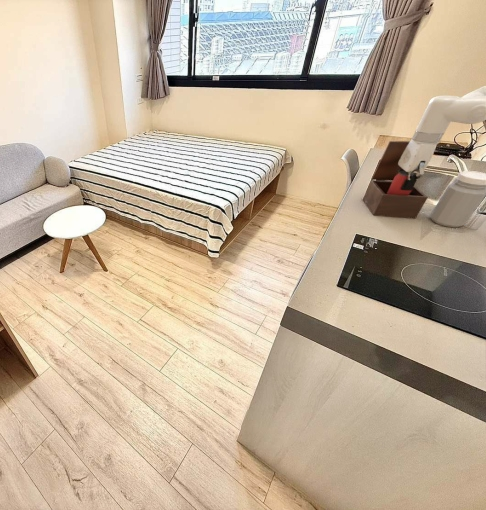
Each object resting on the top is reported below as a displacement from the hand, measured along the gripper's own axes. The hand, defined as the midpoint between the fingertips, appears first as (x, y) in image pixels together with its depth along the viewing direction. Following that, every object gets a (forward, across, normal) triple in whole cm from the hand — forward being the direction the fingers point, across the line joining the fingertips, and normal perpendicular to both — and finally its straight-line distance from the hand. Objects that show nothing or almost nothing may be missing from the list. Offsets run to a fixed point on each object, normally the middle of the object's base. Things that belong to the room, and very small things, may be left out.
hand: (401, 185), depth 106 cm
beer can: (+7, 0, 0) cm, 7 cm away
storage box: (+11, -2, 0) cm, 11 cm away
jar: (+11, +6, +16) cm, 20 cm away
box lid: (-6, -8, 0) cm, 10 cm away
